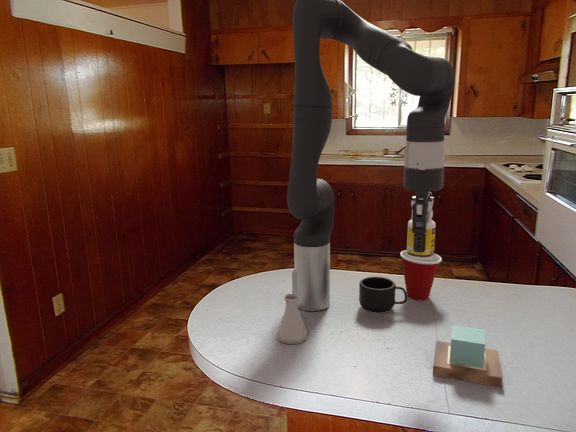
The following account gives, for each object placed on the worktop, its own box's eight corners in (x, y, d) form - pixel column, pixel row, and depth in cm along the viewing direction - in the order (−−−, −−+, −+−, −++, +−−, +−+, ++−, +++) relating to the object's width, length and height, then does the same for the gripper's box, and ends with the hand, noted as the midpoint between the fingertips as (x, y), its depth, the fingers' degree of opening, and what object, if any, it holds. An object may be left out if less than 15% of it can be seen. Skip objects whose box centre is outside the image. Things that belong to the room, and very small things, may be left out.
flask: (311, 331, 104) (311, 291, 102) (302, 347, 98) (302, 305, 95) (282, 327, 107) (281, 288, 104) (271, 342, 100) (270, 301, 98)
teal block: (449, 362, 87) (451, 339, 86) (450, 347, 92) (452, 325, 91) (483, 368, 85) (485, 344, 84) (482, 352, 90) (484, 329, 89)
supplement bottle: (435, 261, 88) (438, 213, 86) (407, 260, 90) (409, 212, 87) (432, 252, 94) (434, 207, 91) (405, 251, 95) (407, 206, 92)
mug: (357, 314, 112) (357, 288, 111) (360, 299, 121) (361, 275, 119) (406, 319, 109) (407, 292, 108) (406, 303, 118) (407, 278, 116)
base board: (432, 374, 87) (433, 365, 86) (435, 349, 96) (436, 340, 95) (500, 387, 82) (501, 377, 82) (497, 359, 91) (498, 349, 91)
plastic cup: (444, 305, 116) (446, 261, 114) (401, 304, 117) (403, 261, 115) (434, 288, 127) (436, 248, 124) (395, 288, 128) (397, 248, 125)
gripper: (408, 160, 95) (405, 236, 99) (399, 169, 82) (396, 256, 86) (445, 160, 92) (441, 239, 96) (442, 169, 79) (437, 260, 83)
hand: (420, 247), depth 91 cm, fingers closed on supplement bottle, 5 cm apart
